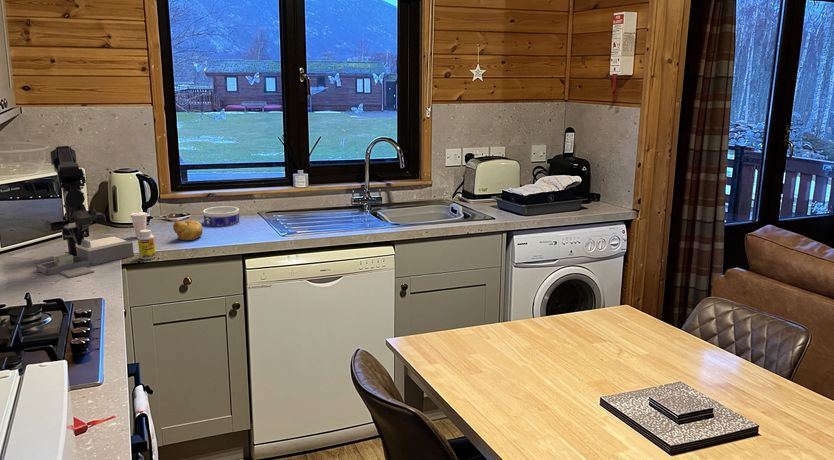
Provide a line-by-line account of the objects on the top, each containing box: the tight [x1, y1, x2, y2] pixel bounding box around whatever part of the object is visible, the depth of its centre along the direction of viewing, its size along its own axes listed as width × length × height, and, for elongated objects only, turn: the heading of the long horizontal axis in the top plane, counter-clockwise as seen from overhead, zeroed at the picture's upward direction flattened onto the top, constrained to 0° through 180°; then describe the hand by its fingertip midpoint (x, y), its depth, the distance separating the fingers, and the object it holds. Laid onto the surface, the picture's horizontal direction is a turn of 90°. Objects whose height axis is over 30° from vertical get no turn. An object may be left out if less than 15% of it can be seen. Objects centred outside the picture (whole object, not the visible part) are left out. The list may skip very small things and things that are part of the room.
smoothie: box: [130, 202, 148, 239], centre depth 278 cm, size 6×6×14 cm
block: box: [53, 252, 74, 267], centre depth 238 cm, size 4×4×4 cm
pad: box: [59, 266, 95, 279], centre depth 232 cm, size 8×8×1 cm
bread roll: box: [172, 219, 204, 241], centre depth 277 cm, size 13×10×8 cm
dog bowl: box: [202, 205, 240, 227], centre depth 303 cm, size 15×15×6 cm
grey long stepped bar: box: [35, 240, 135, 276], centre depth 243 cm, size 9×30×5 cm, turn 140°
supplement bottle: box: [137, 229, 157, 260], centre depth 249 cm, size 6×6×10 cm
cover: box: [75, 235, 128, 252], centre depth 247 cm, size 10×14×3 cm
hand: (79, 245), depth 241 cm, fingers closed
